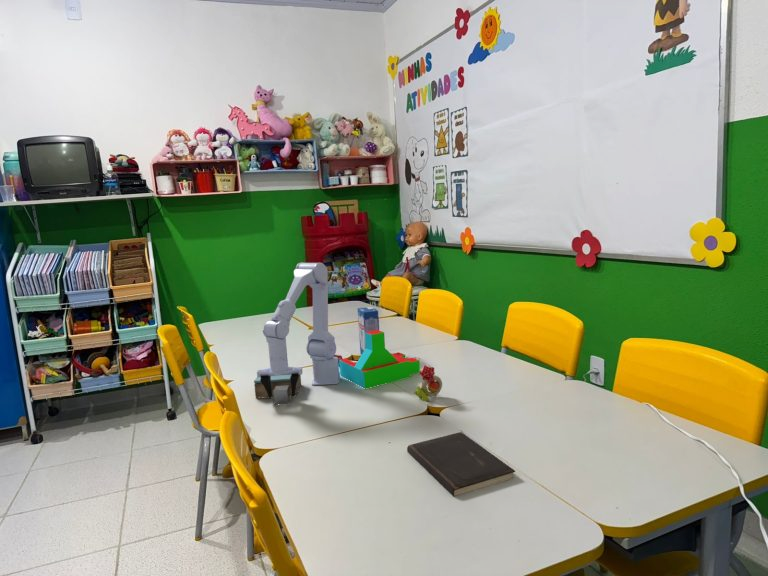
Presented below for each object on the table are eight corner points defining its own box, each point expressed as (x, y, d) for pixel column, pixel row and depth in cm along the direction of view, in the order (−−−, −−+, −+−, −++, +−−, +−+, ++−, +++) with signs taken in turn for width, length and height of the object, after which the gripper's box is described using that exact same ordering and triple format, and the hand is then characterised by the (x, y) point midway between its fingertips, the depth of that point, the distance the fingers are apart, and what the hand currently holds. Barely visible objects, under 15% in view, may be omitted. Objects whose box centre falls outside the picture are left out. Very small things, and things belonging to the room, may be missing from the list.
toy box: (301, 384, 185) (300, 371, 184) (296, 395, 174) (295, 381, 173) (262, 387, 184) (261, 373, 184) (255, 398, 174) (254, 384, 173)
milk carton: (360, 353, 219) (357, 308, 216) (374, 351, 221) (371, 306, 218) (366, 360, 210) (363, 312, 207) (381, 357, 212) (378, 310, 209)
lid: (300, 371, 184) (300, 369, 184) (295, 380, 173) (295, 378, 173) (261, 373, 184) (261, 371, 184) (254, 383, 173) (254, 381, 173)
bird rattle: (429, 399, 169) (407, 395, 164) (439, 367, 169) (418, 362, 165) (440, 406, 163) (417, 401, 159) (450, 372, 164) (428, 366, 159)
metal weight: (290, 399, 171) (289, 385, 170) (288, 404, 167) (287, 389, 166) (277, 400, 171) (275, 385, 170) (274, 405, 166) (273, 390, 166)
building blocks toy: (423, 374, 189) (421, 326, 186) (365, 390, 176) (361, 338, 173) (395, 363, 205) (393, 318, 202) (340, 376, 192) (336, 329, 189)
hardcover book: (461, 439, 136) (461, 431, 135) (515, 480, 115) (515, 470, 114) (407, 454, 130) (406, 445, 129) (453, 499, 109) (453, 489, 108)
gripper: (253, 361, 162) (257, 402, 164) (298, 358, 162) (302, 399, 165) (258, 355, 169) (261, 394, 171) (301, 352, 169) (305, 391, 171)
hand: (282, 396), depth 168 cm, fingers open, 7 cm apart
